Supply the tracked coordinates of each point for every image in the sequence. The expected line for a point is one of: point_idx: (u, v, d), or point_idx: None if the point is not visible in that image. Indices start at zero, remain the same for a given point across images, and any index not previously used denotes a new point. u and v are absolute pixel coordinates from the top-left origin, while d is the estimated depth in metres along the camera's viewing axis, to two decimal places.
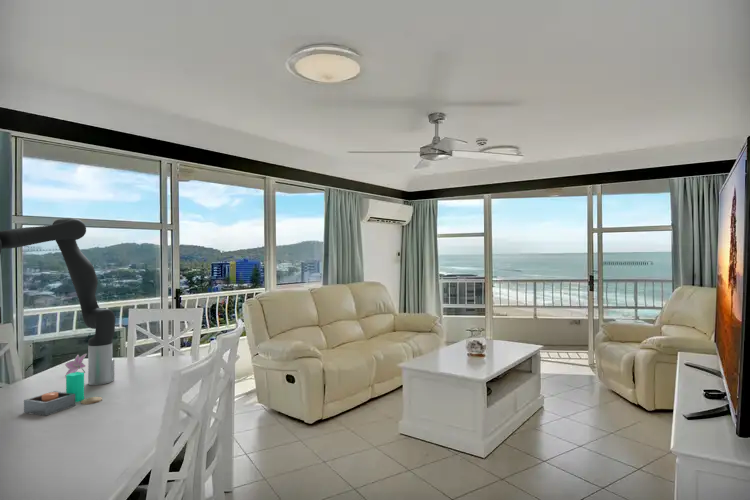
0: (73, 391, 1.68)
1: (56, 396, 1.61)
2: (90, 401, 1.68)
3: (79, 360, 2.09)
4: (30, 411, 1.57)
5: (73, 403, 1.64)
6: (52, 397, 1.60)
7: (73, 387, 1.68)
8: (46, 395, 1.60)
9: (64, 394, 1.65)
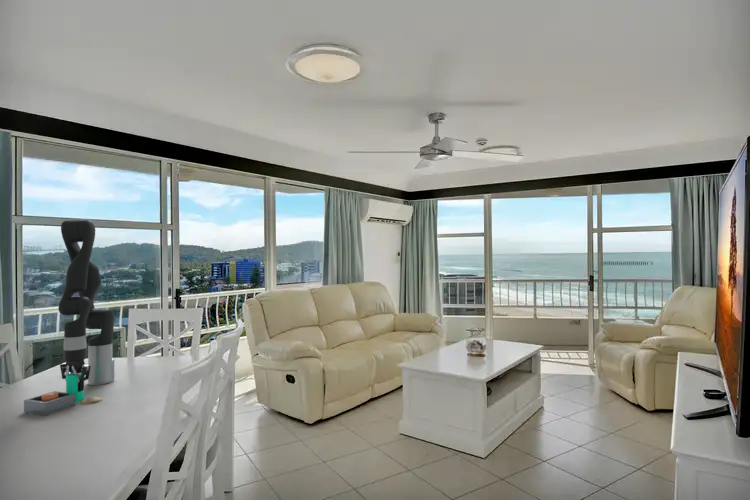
0: (73, 391, 1.68)
1: (56, 396, 1.61)
2: (90, 401, 1.68)
3: None
4: (30, 411, 1.57)
5: (73, 403, 1.64)
6: (52, 397, 1.60)
7: (73, 387, 1.69)
8: (46, 395, 1.60)
9: (64, 394, 1.65)
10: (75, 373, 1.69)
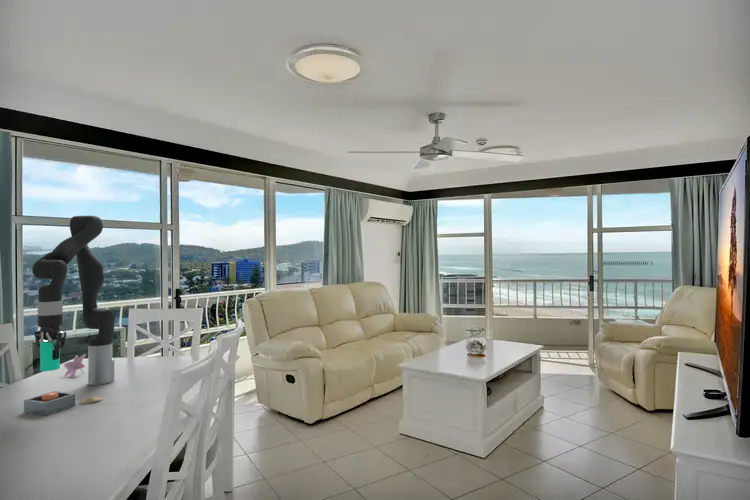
0: (47, 359, 1.59)
1: (56, 396, 1.61)
2: (90, 401, 1.68)
3: (78, 360, 2.08)
4: (30, 411, 1.57)
5: (73, 403, 1.64)
6: (52, 397, 1.60)
7: (47, 354, 1.59)
8: (46, 395, 1.60)
9: (64, 394, 1.65)
10: (50, 340, 1.60)
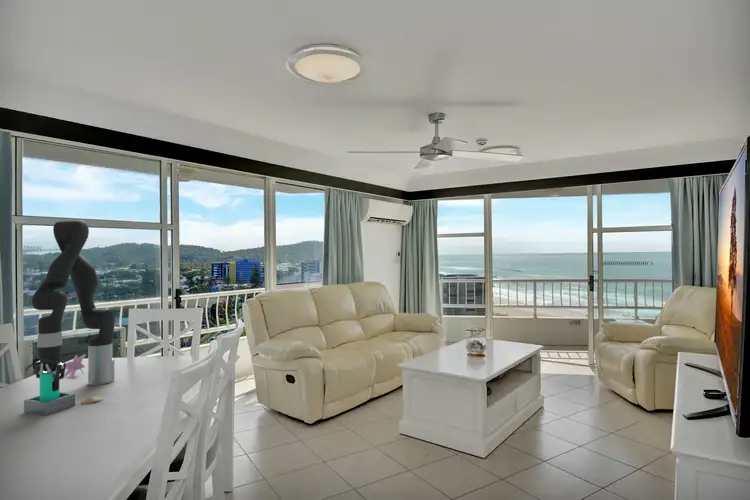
0: (47, 391, 1.59)
1: None
2: (90, 401, 1.68)
3: (78, 361, 2.08)
4: (30, 411, 1.57)
5: (73, 403, 1.64)
6: None
7: (47, 386, 1.59)
8: None
9: (64, 394, 1.65)
10: (49, 371, 1.59)
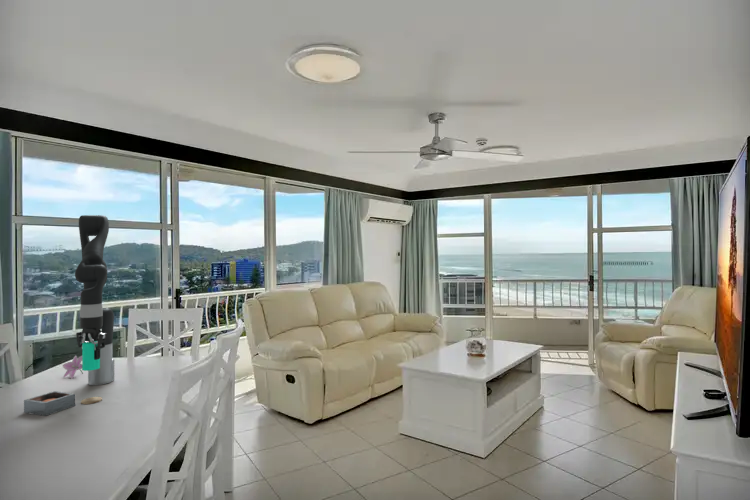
0: (89, 359, 1.67)
1: None
2: (90, 401, 1.68)
3: (77, 361, 2.07)
4: (30, 411, 1.57)
5: (73, 403, 1.64)
6: None
7: (89, 355, 1.67)
8: None
9: (64, 394, 1.65)
10: (91, 341, 1.68)
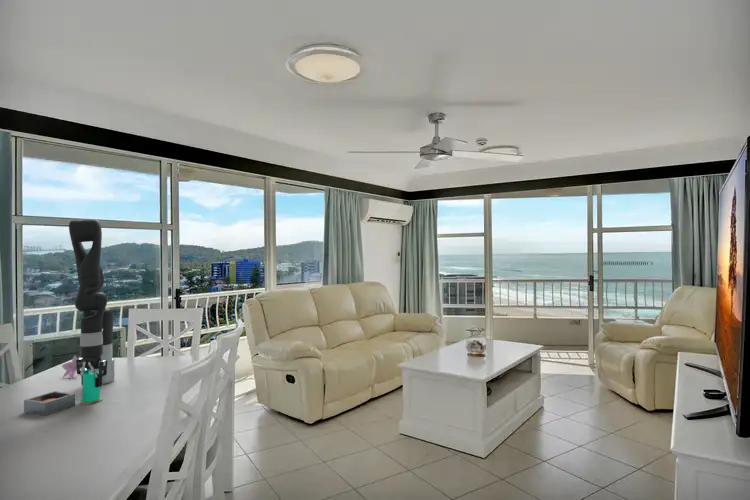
0: (90, 390, 1.67)
1: None
2: None
3: None
4: (30, 411, 1.57)
5: (73, 403, 1.64)
6: None
7: (90, 386, 1.67)
8: None
9: (64, 394, 1.65)
10: (92, 369, 1.67)
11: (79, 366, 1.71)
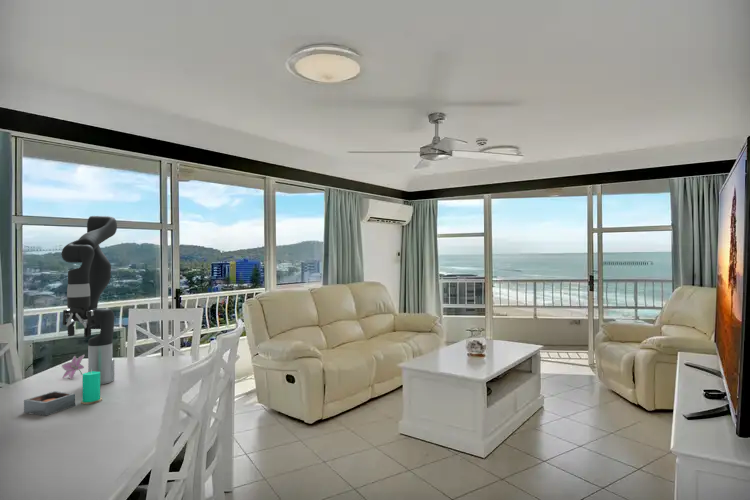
0: (90, 390, 1.67)
1: None
2: None
3: (76, 361, 2.06)
4: (30, 411, 1.57)
5: (73, 403, 1.64)
6: None
7: (90, 386, 1.67)
8: None
9: (64, 394, 1.65)
10: (80, 319, 1.68)
11: (66, 317, 1.71)
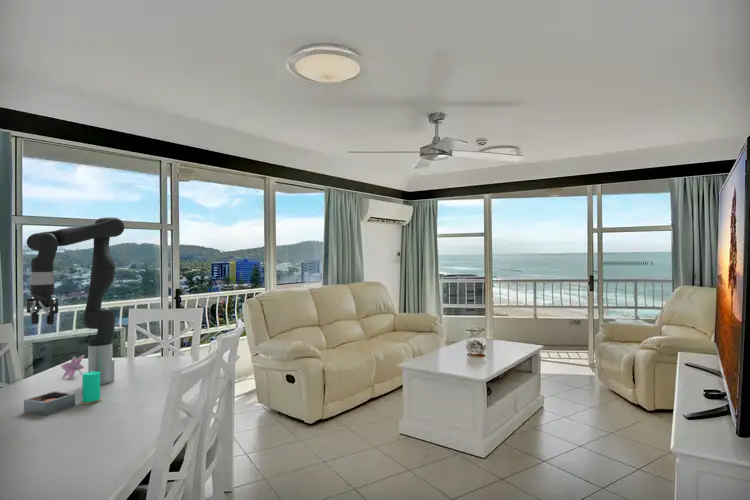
0: (89, 390, 1.67)
1: None
2: None
3: (76, 362, 2.06)
4: (30, 411, 1.57)
5: (73, 403, 1.64)
6: None
7: (90, 386, 1.67)
8: None
9: (64, 394, 1.65)
10: (43, 307, 1.69)
11: (30, 305, 1.73)
